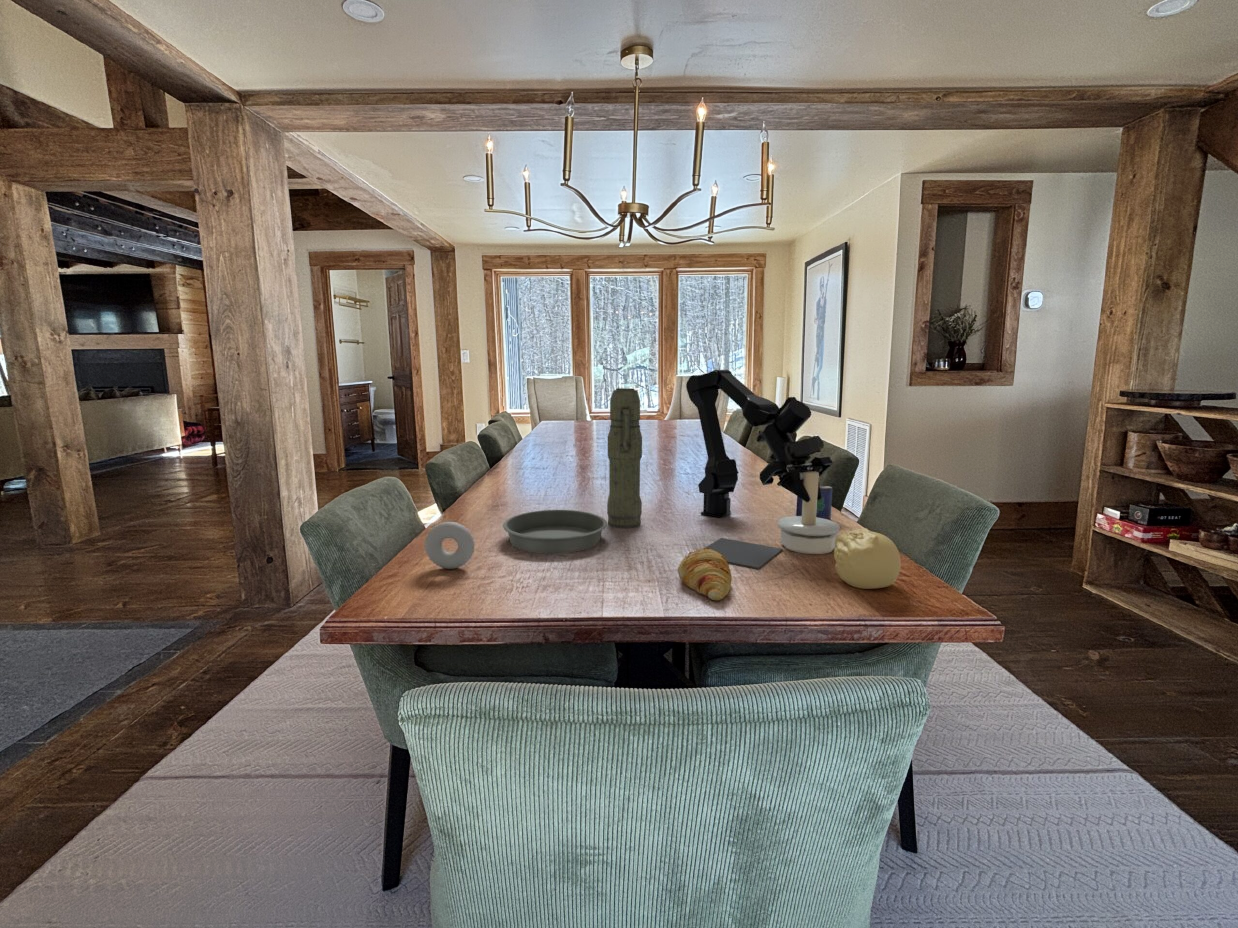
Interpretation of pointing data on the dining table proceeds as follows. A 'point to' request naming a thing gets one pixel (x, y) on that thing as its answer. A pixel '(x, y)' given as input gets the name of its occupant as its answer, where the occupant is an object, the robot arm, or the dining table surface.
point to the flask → (819, 504)
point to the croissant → (706, 573)
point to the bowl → (808, 543)
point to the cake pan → (554, 530)
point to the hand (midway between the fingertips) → (814, 500)
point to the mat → (744, 552)
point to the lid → (809, 513)
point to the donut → (447, 558)
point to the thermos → (624, 459)
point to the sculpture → (866, 559)
